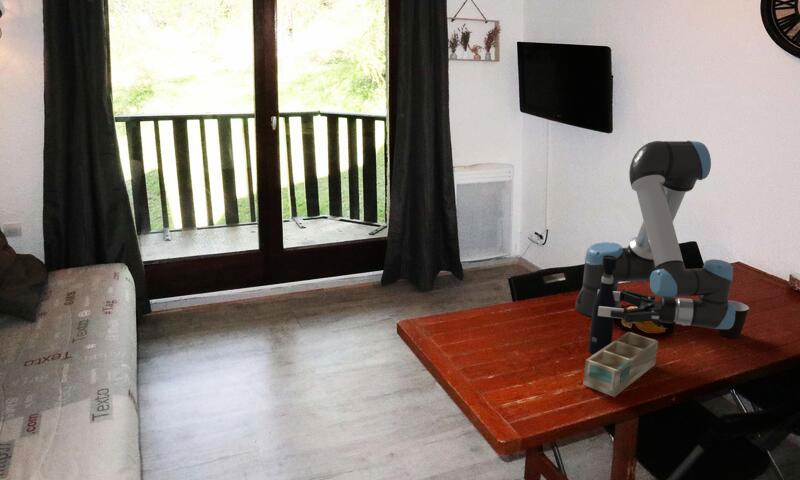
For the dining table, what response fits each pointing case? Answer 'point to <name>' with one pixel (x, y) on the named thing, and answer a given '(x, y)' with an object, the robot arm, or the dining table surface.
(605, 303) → the black metal bottle
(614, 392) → the wooden compartment box
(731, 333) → the coffee mug
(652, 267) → the robot arm
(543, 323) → the dining table surface
